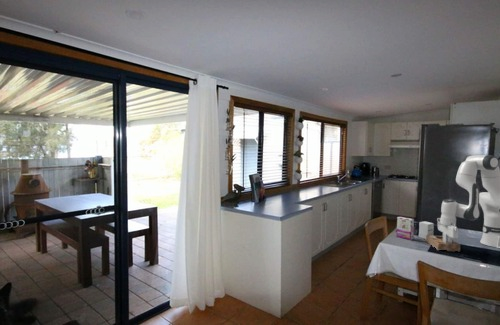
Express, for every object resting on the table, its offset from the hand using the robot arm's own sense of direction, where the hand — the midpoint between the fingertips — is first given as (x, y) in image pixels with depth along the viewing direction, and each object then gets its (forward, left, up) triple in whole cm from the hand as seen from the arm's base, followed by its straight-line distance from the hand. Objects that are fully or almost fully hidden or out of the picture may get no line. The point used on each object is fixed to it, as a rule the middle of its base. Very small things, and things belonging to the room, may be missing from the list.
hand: (447, 240), depth 190 cm
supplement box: (+4, -22, -6) cm, 24 cm away
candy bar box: (+21, -19, -6) cm, 29 cm away
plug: (0, 0, -4) cm, 4 cm away
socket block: (+1, -4, -6) cm, 8 cm away
